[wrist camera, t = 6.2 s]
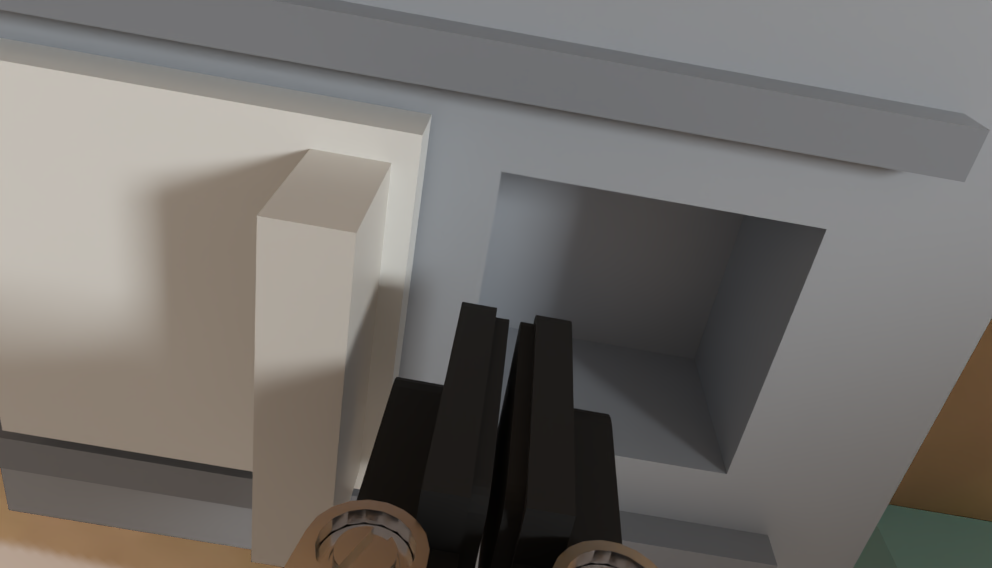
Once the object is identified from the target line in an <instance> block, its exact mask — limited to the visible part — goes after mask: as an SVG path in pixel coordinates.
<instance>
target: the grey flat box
mask: <svg viewBox="0 0 992 568" xmlns="http://www.w3.org/2000/svg"><path fill="white" fill-rule="evenodd" d="M0 38H4V39H10V40H16V41H21V42H27V43H32V44H38V45H44V46H49V47H55V48H61V49H66V50H72V51H77V52H83V53H89V54H94V55H100V56H105V57H111V58H117V59H122V60H128V61H134V62H139V63H145V64H150V65H156V66H162V67H167V68H173V69H178V70H184V71H190V72H195V73H201V74H207V75H212V76H218V77H223V78H229V79H235V80H240V81H246V82H251V83H257V84H263V85H268V86H274V87H280V88H285V89H291V90H296V91H302V92H308V93H313V94H319V95H324V96H330V97H336V98H341V99H347V100H353V101H358V102H364V103H369V104H375V105H381V106H386V107H392V108H397V109H403V110H409V111H414V112H420V113H426V114H431V115H432V116H431V124H430V132H429V140H428V148H427V156H426V164H425V172H424V179H423V187H422V195H421V203H420V211H419V219H418V227H417V235H416V243H415V251H414V258H413V266H412V274H411V282H410V290H409V298H408V306H407V314H406V322H405V330H404V337H403V345H402V353H401V361H400V369H399V377H401V378H407V379H412V380H418V381H424V382H429V383H435V384H441V385H444V382H445V378H446V373H447V369H448V364H449V360H450V355H451V350H452V346H453V341H454V337H455V332H456V328H457V323H458V318H459V314H460V309H461V305H462V302H467V303H473V304H478V305H484V306H490V307H495V308H497V314H496V317H498V318H503V319H509V330H508V339H507V348H506V357H505V366H504V375H503V384H502V393H501V402H500V411H499V420H500V415H501V410H502V405H503V401H504V396H505V391H506V386H507V382H508V377H509V372H510V368H511V363H512V358H513V353H514V349H515V344H516V339H517V334H518V330H519V325H520V322H526V323H531V324H533V323H534V319H535V316H536V315H540V316H546V317H551V318H557V319H563V320H568V321H571V322H572V348H573V397H574V408H576V409H582V410H588V411H593V412H599V413H605V414H609V415H610V417H611V421H612V430H613V442H614V453H615V465H616V476H617V488H618V500H619V511H620V523H621V535H622V545H624V546H627V547H629V548H632V549H634V550H636V551H638V552H639V553H641V554H642V555H644V556H645V557H646V558H648V559H649V560H651V561H652V562H653V563H654V564H655V565H656V566H657V567H658V568H853V567H854V565H855V564H856V562H857V560H858V558H859V556H860V555H861V553H862V551H863V549H864V547H865V546H866V544H867V542H868V540H869V538H870V537H871V535H872V533H873V531H874V529H875V528H876V526H877V524H878V522H879V520H880V519H881V517H882V515H883V513H884V511H885V510H886V508H887V506H888V504H889V502H890V501H891V499H892V497H893V495H894V493H895V492H896V490H897V488H898V486H899V484H900V483H901V481H902V479H903V477H904V475H905V474H906V472H907V470H908V468H909V466H910V465H911V463H912V461H913V459H914V457H915V456H916V454H917V452H918V450H919V448H920V447H921V445H922V443H923V441H924V439H925V438H926V436H927V434H928V432H929V430H930V429H931V427H932V425H933V423H934V421H935V420H936V418H937V416H938V414H939V412H940V411H941V409H942V407H943V405H944V403H945V402H946V400H947V398H948V396H949V394H950V393H951V391H952V389H953V387H954V385H955V384H956V382H957V380H958V378H959V376H960V375H961V373H962V371H963V369H964V367H965V366H966V364H967V362H968V360H969V358H970V357H971V355H972V353H973V351H974V349H975V348H976V346H977V344H978V342H979V340H980V339H981V337H982V335H983V333H984V331H985V329H986V328H987V326H988V324H989V322H990V320H991V319H992V0H0ZM499 420H498V424H499ZM0 468H1V472H2V478H3V483H4V488H5V493H6V499H7V504H8V509H9V510H11V511H18V512H24V513H30V514H36V515H42V516H48V517H55V518H61V519H67V520H73V521H79V522H85V523H91V524H98V525H104V526H110V527H116V528H122V529H128V530H135V531H141V532H147V533H153V534H159V535H165V536H171V537H178V538H184V539H190V540H196V541H202V542H208V543H214V544H221V545H227V546H233V547H239V548H245V549H251V546H252V485H253V472H252V471H246V470H240V469H234V468H228V467H221V466H215V465H209V464H203V463H197V462H191V461H185V460H179V459H173V458H167V457H161V456H155V455H149V454H143V453H137V452H131V451H125V450H119V449H112V448H106V447H100V446H94V445H88V444H82V443H76V442H70V441H64V440H58V439H52V438H46V437H40V436H34V435H28V434H22V433H16V432H10V431H3V430H2V426H1V420H0ZM359 491H360V489H355V488H354V489H353V492H352V496H351V499H350V501H356V500H357V497H358V494H359ZM480 544H481V543H480ZM479 552H480V548H479ZM479 552H478V557H477V562H476V566H475V568H478V561H479Z"/></svg>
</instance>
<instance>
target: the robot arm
mask: <svg viewBox="0 0 992 568" xmlns="http://www.w3.org/2000/svg"><path fill="white" fill-rule="evenodd" d="M496 314H497V308H495V307H490V306H484V305H478V304H473V303H467V302H462V305H461V309H460V314H459V318H458V323H457V328H456V332H455V337H454V341H453V346H452V350H451V355H450V360H449V364H448V369H447V373H446V378H445V382H444V385H441V384H435V383H429V382H424V381H418V380H412V379H407V378H401V377H396V378H395V380H394V383H393V386H392V389H391V392H390V395H389V398H388V401H387V405H386V408H385V411H384V414H383V417H382V421H381V424H380V427H379V430H378V433H377V437H376V440H375V443H374V446H373V449H372V452H371V456H370V459H369V462H368V465H367V468H366V472H365V475H364V478H363V481H362V484H361V487H360V491H359V494H358V497H357V500H356V501H348V502H345V503H342V504H339V505H336V506H332V507H331V508H329V509H328V510H326V511H325V512H323V513H321V514H320V515H318V516H317V517H316V518H315V519H314V521H313V522H312V523H311V524H310V525H309V527H308V528H307V529H306V531H305V532H304V534H303V536H302V537H301V539H300V541H299V542H298V544H297V546H296V547H295V549H294V551H293V553H292V554H291V556H290V558H289V559H288V561H287V563H286V564H285V566H284V567H283V568H475V566H476V562H477V557H478V552H479V548H480V552H479V561H478V568H658V567H657V566H656V565H655V564H654V563H653V562H652V561H651V560H649V559H648V558H646V557H645V556H644V555H642V554H641V553H639V552H638V551H636V550H634V549H632V548H629V547H627V546H624V545H622V535H621V523H620V511H619V500H618V488H617V476H616V465H615V453H614V442H613V430H612V421H611V417H610V415H609V414H605V413H599V412H593V411H588V410H582V409H576V408H574V397H573V348H572V322H571V321H568V320H563V319H557V318H551V317H546V316H540V315H536V316H535V319H534V323H533V324H531V323H526V322H520V325H519V330H518V334H517V339H516V344H515V349H514V353H513V358H512V363H511V368H510V372H509V377H508V382H507V386H506V391H505V396H504V401H503V405H502V410H501V415H500V420H499V411H500V402H501V393H502V384H503V375H504V366H505V357H506V348H507V339H508V330H509V319H503V318H498V317H496ZM498 420H499V424H498ZM480 543H481V544H480Z"/></svg>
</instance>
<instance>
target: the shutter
mask: <svg viewBox="0 0 992 568" xmlns="http://www.w3.org/2000/svg"><path fill="white" fill-rule="evenodd" d="M431 116H432V115H431V114H426V113H420V112H414V111H409V110H403V109H397V108H392V107H386V106H381V105H375V104H369V103H364V102H358V101H353V100H347V99H341V98H336V97H330V96H324V95H319V94H313V93H308V92H302V91H296V90H291V89H285V88H280V87H274V86H268V85H263V84H257V83H251V82H246V81H240V80H235V79H229V78H223V77H218V76H212V75H207V74H201V73H195V72H190V71H184V70H178V69H173V68H167V67H162V66H156V65H150V64H145V63H139V62H134V61H128V60H122V59H117V58H111V57H105V56H100V55H94V54H89V53H83V52H77V51H72V50H66V49H61V48H55V47H49V46H44V45H38V44H32V43H27V42H21V41H16V40H10V39H4V38H0V420H1V426H2V430H3V431H10V432H16V433H22V434H28V435H34V436H40V437H46V438H52V439H58V440H64V441H70V442H76V443H82V444H88V445H94V446H100V447H106V448H112V449H119V450H125V451H131V452H137V453H143V454H149V455H155V456H161V457H167V458H173V459H179V460H185V461H191V462H197V463H203V464H209V465H215V466H221V467H228V468H234V469H240V470H246V471H252V472H253V485H252V546H251V562H255V563H261V564H267V565H273V566H279V567H284V566H285V564H286V563H287V561H288V559H289V558H290V556H291V554H292V553H293V551H294V549H295V547H296V546H297V544H298V542H299V541H300V539H301V537H302V536H303V534H304V532H305V531H306V529H307V528H308V527H309V525H310V524H311V523H312V522H313V521H314V519H315V518H316V517H317V516H318V515H320V514H321V513H323V512H325V511H326V510H328V509H329V508H331V507H332V506H336V505H339V504H342V503H345V502H348V501H350V499H351V496H352V492H353V489H354V488H355V489H360V487H361V484H362V481H363V478H364V475H365V472H366V468H367V465H368V462H369V459H370V456H371V452H372V449H373V446H374V443H375V440H376V437H377V433H378V430H379V427H380V424H381V421H382V417H383V414H384V411H385V408H386V405H387V401H388V398H389V395H390V392H391V389H392V386H393V383H394V380H395V378H396V377H399V369H400V361H401V353H402V345H403V337H404V330H405V322H406V314H407V306H408V298H409V290H410V282H411V274H412V266H413V258H414V251H415V243H416V235H417V227H418V219H419V211H420V203H421V195H422V187H423V179H424V172H425V164H426V156H427V148H428V140H429V132H430V124H431Z"/></svg>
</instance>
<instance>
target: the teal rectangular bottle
mask: <svg viewBox="0 0 992 568" xmlns="http://www.w3.org/2000/svg"><path fill="white" fill-rule="evenodd" d="M853 568H992V522H990V521H984V520H978V519H972V518H966V517H960V516H954V515H948V514H942V513H936V512H930V511H925V510H919V509H913V508H907V507H901V506H895V505H889V504H888V506H887V508H886V510H885V511H884V513H883V515H882V517H881V519H880V520H879V522H878V524H877V526H876V528H875V529H874V531H873V533H872V535H871V537H870V538H869V540H868V542H867V544H866V546H865V547H864V549H863V551H862V553H861V555H860V556H859V558H858V560H857V562H856V564H855V565H854V567H853Z"/></svg>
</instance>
